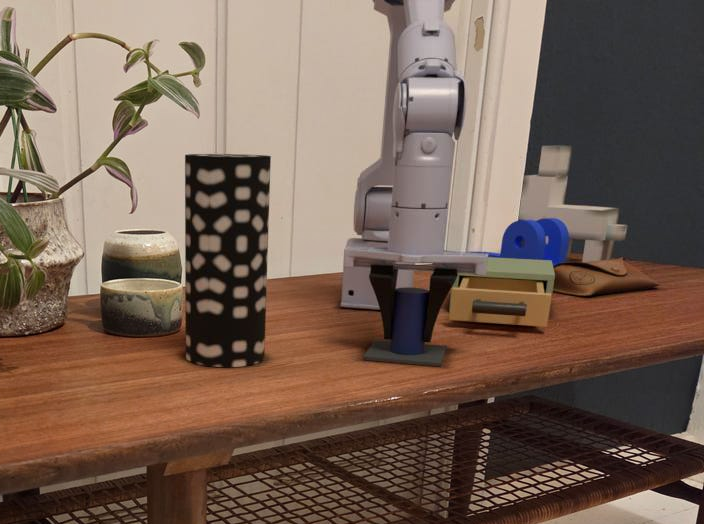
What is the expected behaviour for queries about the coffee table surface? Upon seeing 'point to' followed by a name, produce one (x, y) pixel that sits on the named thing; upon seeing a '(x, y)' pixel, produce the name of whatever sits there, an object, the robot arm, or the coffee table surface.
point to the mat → (382, 353)
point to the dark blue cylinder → (409, 320)
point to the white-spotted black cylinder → (226, 258)
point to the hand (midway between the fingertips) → (407, 339)
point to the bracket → (534, 241)
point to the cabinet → (516, 271)
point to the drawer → (500, 301)
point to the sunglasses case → (599, 277)
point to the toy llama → (569, 207)
